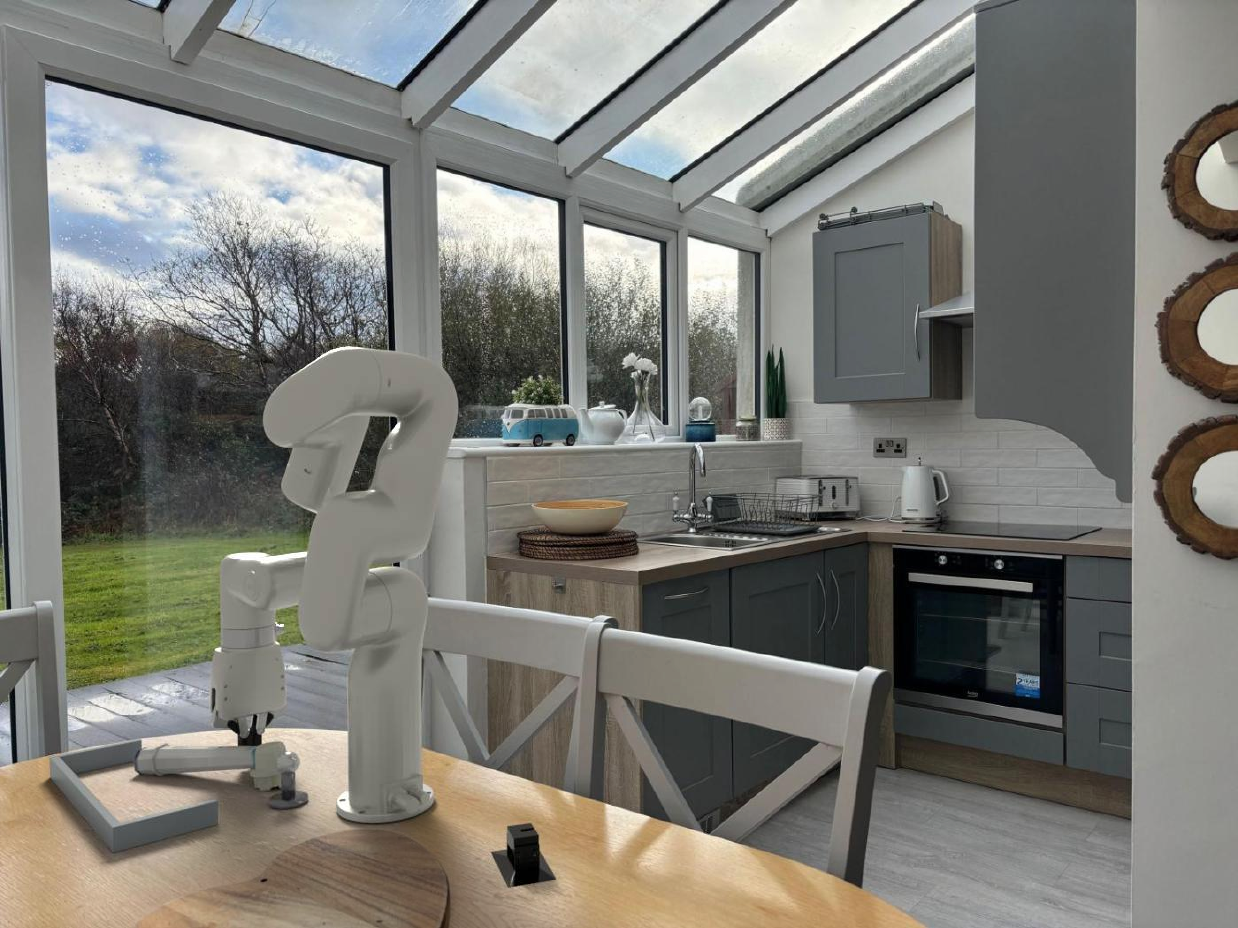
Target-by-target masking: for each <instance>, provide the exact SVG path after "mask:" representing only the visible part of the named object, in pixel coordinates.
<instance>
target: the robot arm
mask: <svg viewBox="0 0 1238 928" xmlns="http://www.w3.org/2000/svg"><path fill="white" fill-rule="evenodd" d="M458 415H459V399H458V394H457V390H456V388H455V385H454V382H453V380H452V379H451V376H450V375H449V373H448V372H447V371H446V370H445V369H444V368H443V367H442V366H441V365H440V364H438V363H437V362H435V361H433V360H432V359H430V358H428V357H425V356H422V355H419V354H415V353H409V352H404V351H397V350H388V349H387V350H386V349H377V348H376V349H375V348H368V347H358V346H345V347H344V346H343V347H338V348H335V349H332V350H329V351H327V352H326V353H324V354H322V355H321V356H320V357H318V358H316V359H314V360H313V361H312V362H311V363H309V364H307V365H306V366H305V367H303V368H302V369H300V370H298V371H297V372H295V373H294V374H292V375H291V376H289V377H288V378H287V379H286V380H284V381H283V382H282V383H281V384H279V386H277V387H276V388H275V389H274V391H272V393H271V395H270V396H269V398H268V400H267V402H266V403H265V407H264V411H263V415H262V424H263V429H264V432H265V435H266V436H267V438H268V440H270V442H272V443H273V444H274V445H275V446H278V447H281V448H286V449H287V448H288V449H292V450H291V453H290V456H289V460H288V463H287V465H286V467H285V472H284V474H283V477H282V480H281V484H280V486H281V491H282V493H283V494H284V496H285V497H286V498H287V499H288V500H289V501H291V502H292V503H293V504H295V505H296V506H299V507H301V508H303V509H305V510H307V511H309V512H312V513H315V514H316V515H315V517H314V519H313V523H312V526H311V529H310V534H309V538H308V543H307V549H306V551H302V552H294V553H293V552H292V553H286V554H281V555H273V556H272V555H270V554H268V553H265V552H239V553H232V554H228V555H226V556H224V557H223V558H222V560H221V562H220V565H219V589H220V590H219V592H220V593H219V596H220V597H219V601H220V602H219V604H220V605H219V606H220V607H219V608H220V647H216V648H214V652H213V656H212V662H211V667H210V668H211V669H210V678H209V689H208V709H209V712H210V713H212V715H211V719H210V726H211V727H212V728H214V729H229V730H230V731H232V732H233V733H235V734H236V736H237V746H259V745H261V744H263V734H264V733H265V732H266V729H267V727H268V726H269V725H270V724H271V722H272V721H273V720H274V719H278V718H280V717H281V716H284V715H286V714H287V712H288V710H287V706H286V705H287V699H288V698H287V697H288V696H287V695H288V692H287V678H286V676H287V675H286V667H285V662H284V657H283V652H282V647H281V645H280V644H281V643H280V642H278V636H280V635H282V634H283V635H284V634H285V631H286V629H285V628H286V627H285V626H284V624H280V625H279V624H278V623H277V622H276V610H282V609H286V608H291V607H294V606H297V620H298V621H297V622H298V627H299V631H300V634H301V636H302V637H303V639H304V641H305V642H306V644H307V645H308V646H309V647H311V648H312V649H313V650H315V651H317V652H321V653H324V654H325V653H326V654H327V653H328V654H329V653H331V654H334V653H340V652H346V651H350V650H353V653H352V655H351V658H350V660H349V666H348V672H347V676H346V677H347V680H346V684H347V686H346V689H347V690H346V693H347V694H346V696H347V697H346V698H347V699H346V700H347V701H346V703H347V705H346V708H347V714H346V716H347V781H348V782H347V784H348V786H347V790H345V791H344V792H343V793H341V794H340V795H339V797H337V799H336V801H335V810H336V813H337V814H338V815H339V816H340V817H341V818H343V819H345V820H347V821H351V822H356V823H363V824H364V823H365V824H382V823H383V824H384V823H391V822H399V821H402V820H407V819H409V818H413V817H415V816H418V815H421V814H423V813H424V812H426V811H427V810H428V809H429V808H430V807H432V806H433V804H434V802H435V801H434V800H435V792H434V789H433V788H432V787H431V786H429V785H428V784H426V783H424V776H423V755H422V754H423V753H422V752H423V750H422V748H423V747H422V746H423V745H422V742H423V741H422V733H423V731H422V657H423V655H422V654H423V644H424V643H423V641H424V635H425V631H426V625H427V618H428V612H429V595H428V591H427V589H426V586H425V584H424V582H423V581H422V579H421V578H420V577H419V575H417V574H416V573H415V572H414V571H411V570H409V569H407V568H404V567H400V566H382V565H388V564H389V565H390V564H395V563H400V562H404V561H406V562H407V561H408V560H412V559H415V558H417V557H418V556H420V555H422V554H423V552H424V551H425V550H426V549H427V547H428V545H429V542H430V539H431V535H432V531H433V525H434V521H435V518H436V517H435V515H436V512H437V507H438V506H437V505H438V501H439V496H440V492H441V486H442V480H443V476H444V475H443V474H444V469H445V464H446V460H447V457H448V455H449V454H448V453H449V451H450V450H449V449H450V447H451V444H452V441H453V437H454V434H455V431H456V427H457V426H456V425H457V422H458V417H459V416H458ZM371 417H394V418H396V419H397V421H398V422H397V424H396V425H395V427H394V428H393V429H392V430H391V431H390V433H389V434H388V436H386V438H385V440H384V442H383V443H382V445H381V447H380V449H379V453H378V455H377V458H376V459H377V460H376V464H375V470H374V475H373V479H372V483H371V485H370V487H369V489H366V490H357V491H347V489H348V486H349V484H350V480H351V477H352V474H353V471H354V469H355V465H356V462H357V459H358V458H359V454H360V451H361V448H362V446H363V442H364V439H365V437H366V434H367V430H368V428H369V425H370V424H369V423H370V420H371ZM376 566H379V567H376ZM371 567H375V568H371ZM248 717H251V719H250V725H248V724H249V723H248V720H247V718H248ZM249 726H250V727H249Z"/></svg>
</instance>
